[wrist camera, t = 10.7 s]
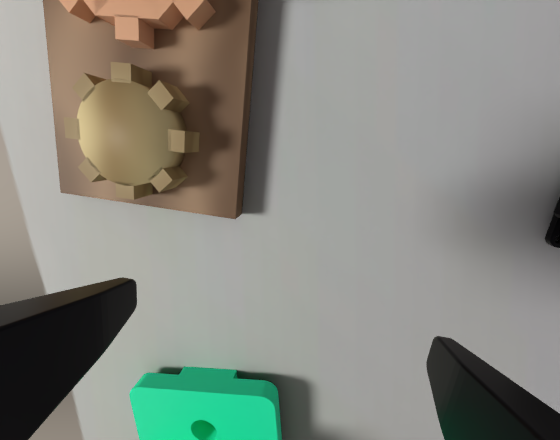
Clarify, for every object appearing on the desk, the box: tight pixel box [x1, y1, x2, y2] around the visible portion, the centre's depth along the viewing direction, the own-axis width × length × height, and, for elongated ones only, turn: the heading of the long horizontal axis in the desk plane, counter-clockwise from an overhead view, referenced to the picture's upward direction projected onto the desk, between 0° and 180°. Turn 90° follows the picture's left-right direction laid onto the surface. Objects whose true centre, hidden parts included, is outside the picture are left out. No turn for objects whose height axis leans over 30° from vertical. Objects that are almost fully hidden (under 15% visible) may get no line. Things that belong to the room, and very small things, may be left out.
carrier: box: [43, 0, 258, 219], centre depth 16 cm, size 13×21×6 cm, turn 173°
